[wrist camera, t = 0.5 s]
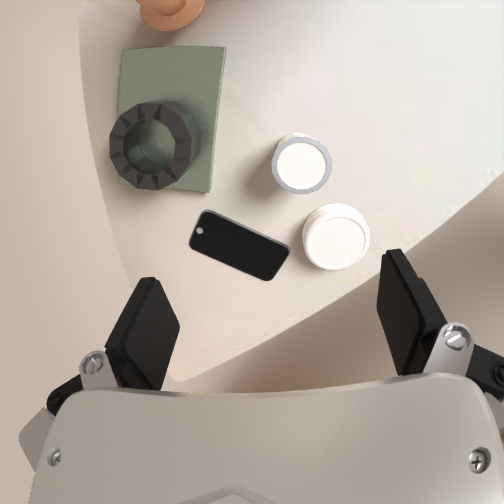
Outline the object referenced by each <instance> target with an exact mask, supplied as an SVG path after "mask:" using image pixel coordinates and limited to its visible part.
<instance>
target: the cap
mask: <svg viewBox="0 0 504 504" xmlns="http://www.w3.org/2000/svg"><path fill="white" fill-rule="evenodd" d="M136 1H137V2H138V3H140V4H141V7H140V13H141V17H142V19H143V21H144V22H145V23H146V24H147V25H148V26H150V27H152V28H154V29H157V30H160V31H174V30H178V29H181V28H183V27H185V26H187V25H189V24H190V23H192V22H193V21H194V20H195V19H196V18H197V17H198V16H199V14H200V13H201V11H202V10H203V7H204V4H205V0H136Z"/></svg>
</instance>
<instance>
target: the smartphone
mask: <svg viewBox="0 0 504 504" xmlns="http://www.w3.org/2000/svg"><path fill="white" fill-rule="evenodd" d="M189 245H190V247H191V248H192V249H193V250H195V251H198V252H200V253H202V254H204V255H207V256H209V257H211V258H213V259H216V260H218V261H220V262H222V263H225V264H227V265H229V266H232V267H234V268H236V269H238V270H240V271H242V272H245V273H248V274H250V275H252V276H255V277H257V278H259V279H261V280H264V281H270V280H272V279H273V278H274V276H275V275H276V274H277V272H278V271H279V269H280V268H281V266H282V265H283V263H284V262H285V260H286V259H287V257H288V256H289V254H290V249H289V247H288V246H287V245H285V244H283V243H281V242H279V241H277V240H275V239H272V238H270V237H268V236H266V235H264V234H262V233H259V232H257V231H255V230H253V229H251V228H249V227H246V226H244V225H242V224H240V223H238V222H235V221H233V220H231V219H229V218H227V217H225V216H222V215H220V214H218V213H216V212H213V211H211V210H204V211H203V212H202V213H201V214H200V217H199V219H198V221H197V224H196V226H195V228H194V231H193V233H192V235H191V238H190V240H189Z"/></svg>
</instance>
